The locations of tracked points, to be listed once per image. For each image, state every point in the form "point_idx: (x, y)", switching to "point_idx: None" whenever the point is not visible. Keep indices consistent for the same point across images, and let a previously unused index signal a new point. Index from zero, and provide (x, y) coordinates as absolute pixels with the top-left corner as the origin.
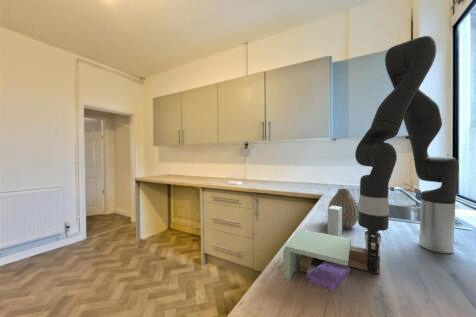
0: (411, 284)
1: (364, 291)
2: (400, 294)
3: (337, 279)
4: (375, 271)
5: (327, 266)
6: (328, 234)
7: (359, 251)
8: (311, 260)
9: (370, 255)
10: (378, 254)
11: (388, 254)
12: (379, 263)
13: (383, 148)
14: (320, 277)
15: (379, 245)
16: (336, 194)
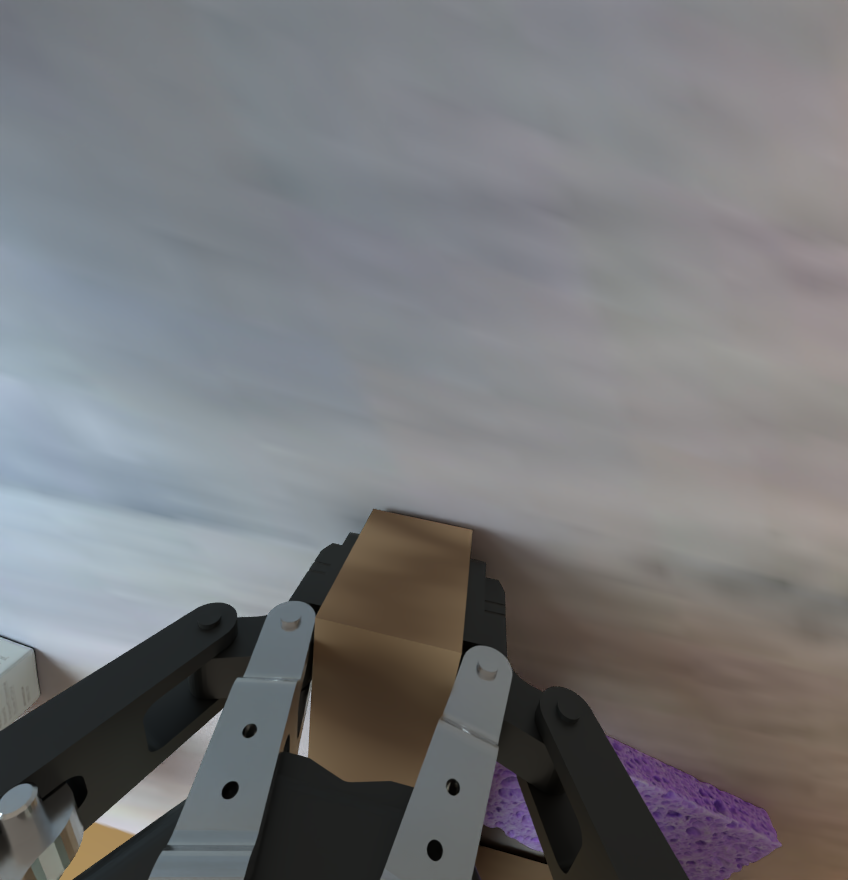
0: (547, 321)
1: (742, 670)
2: (739, 462)
3: (691, 809)
4: (484, 569)
5: (525, 812)
6: (20, 712)
7: (414, 782)
8: (483, 866)
9: (559, 790)
10: (410, 650)
11: (49, 352)
12: (465, 591)
13: None
14: (687, 872)
15: (474, 854)
16: None
